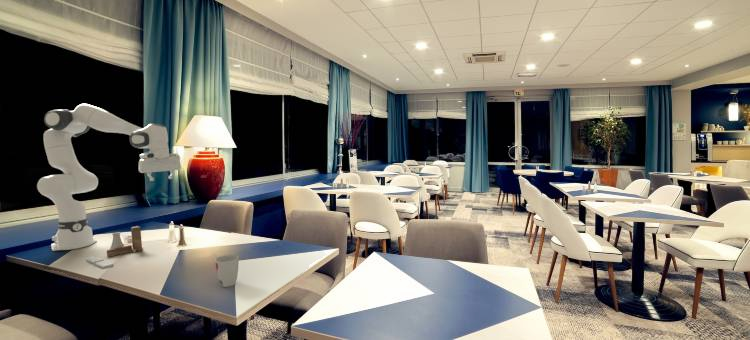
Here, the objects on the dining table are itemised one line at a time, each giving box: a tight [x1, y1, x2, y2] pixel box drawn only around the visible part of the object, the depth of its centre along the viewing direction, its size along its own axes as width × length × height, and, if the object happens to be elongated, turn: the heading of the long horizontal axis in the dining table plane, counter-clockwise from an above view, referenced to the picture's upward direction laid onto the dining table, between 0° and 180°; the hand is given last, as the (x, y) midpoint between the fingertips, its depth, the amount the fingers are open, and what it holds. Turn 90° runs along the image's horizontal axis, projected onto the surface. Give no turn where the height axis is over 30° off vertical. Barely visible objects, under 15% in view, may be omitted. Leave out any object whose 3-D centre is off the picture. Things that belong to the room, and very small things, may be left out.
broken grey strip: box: [85, 255, 114, 269], centre depth 162 cm, size 20×4×1 cm, turn 55°
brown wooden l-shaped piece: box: [106, 225, 144, 258], centre depth 179 cm, size 20×14×12 cm
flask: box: [109, 231, 124, 250], centre depth 177 cm, size 7×7×10 cm
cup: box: [214, 254, 240, 288], centre depth 134 cm, size 8×8×10 cm
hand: (161, 179), depth 192 cm, fingers open, 8 cm apart
